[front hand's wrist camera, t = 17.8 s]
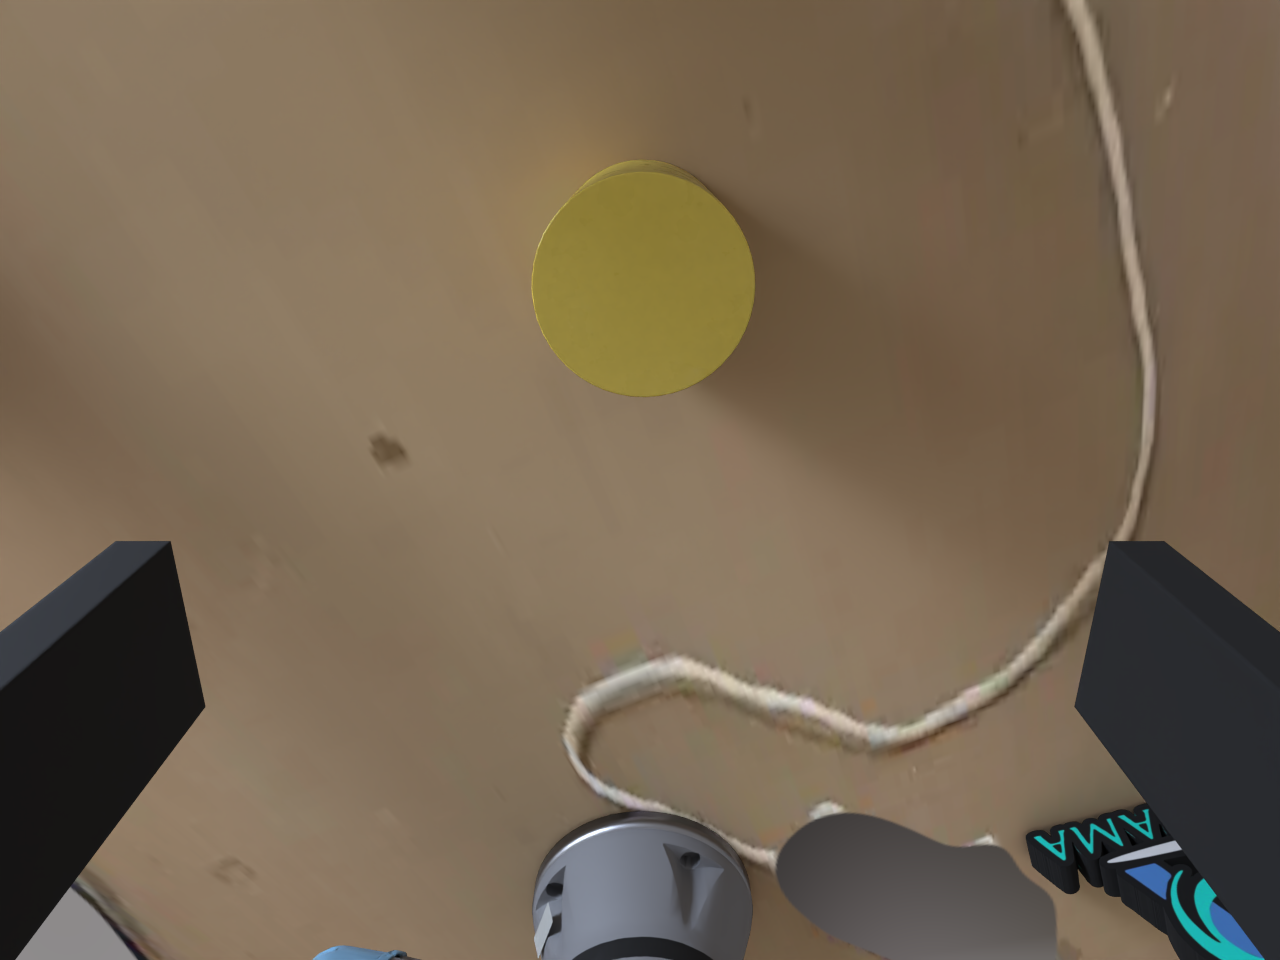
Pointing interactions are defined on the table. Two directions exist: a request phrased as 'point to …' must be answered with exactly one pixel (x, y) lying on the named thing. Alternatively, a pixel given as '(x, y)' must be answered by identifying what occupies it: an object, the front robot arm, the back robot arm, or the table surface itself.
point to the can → (643, 280)
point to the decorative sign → (1143, 879)
